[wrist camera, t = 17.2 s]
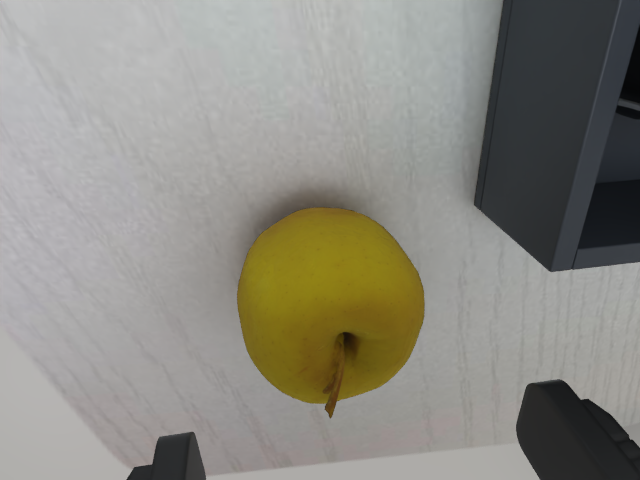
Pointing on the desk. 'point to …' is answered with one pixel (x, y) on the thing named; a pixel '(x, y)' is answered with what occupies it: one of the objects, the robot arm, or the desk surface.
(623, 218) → the bin
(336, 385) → the apple
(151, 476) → the robot arm
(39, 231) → the desk surface
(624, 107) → the battery charger
